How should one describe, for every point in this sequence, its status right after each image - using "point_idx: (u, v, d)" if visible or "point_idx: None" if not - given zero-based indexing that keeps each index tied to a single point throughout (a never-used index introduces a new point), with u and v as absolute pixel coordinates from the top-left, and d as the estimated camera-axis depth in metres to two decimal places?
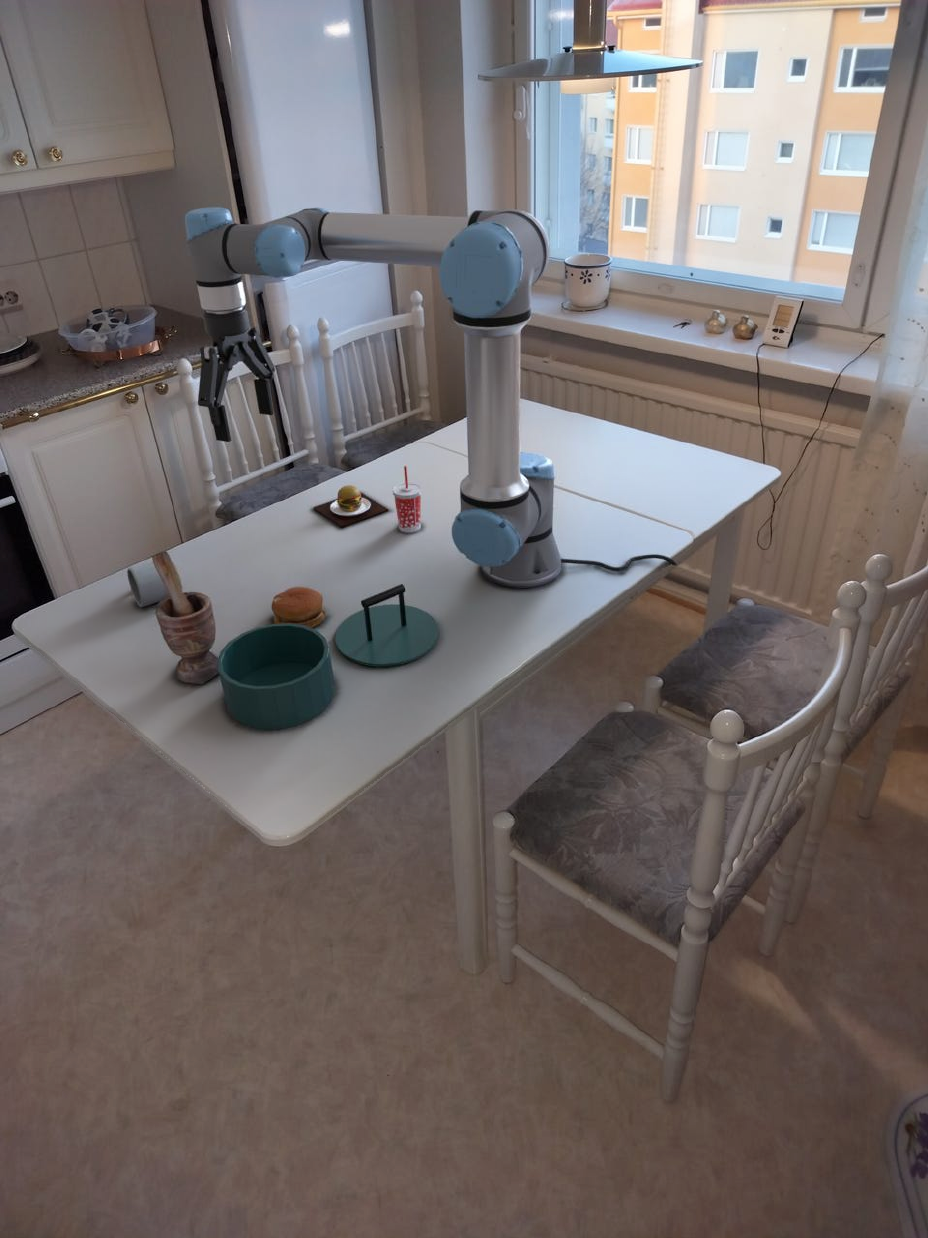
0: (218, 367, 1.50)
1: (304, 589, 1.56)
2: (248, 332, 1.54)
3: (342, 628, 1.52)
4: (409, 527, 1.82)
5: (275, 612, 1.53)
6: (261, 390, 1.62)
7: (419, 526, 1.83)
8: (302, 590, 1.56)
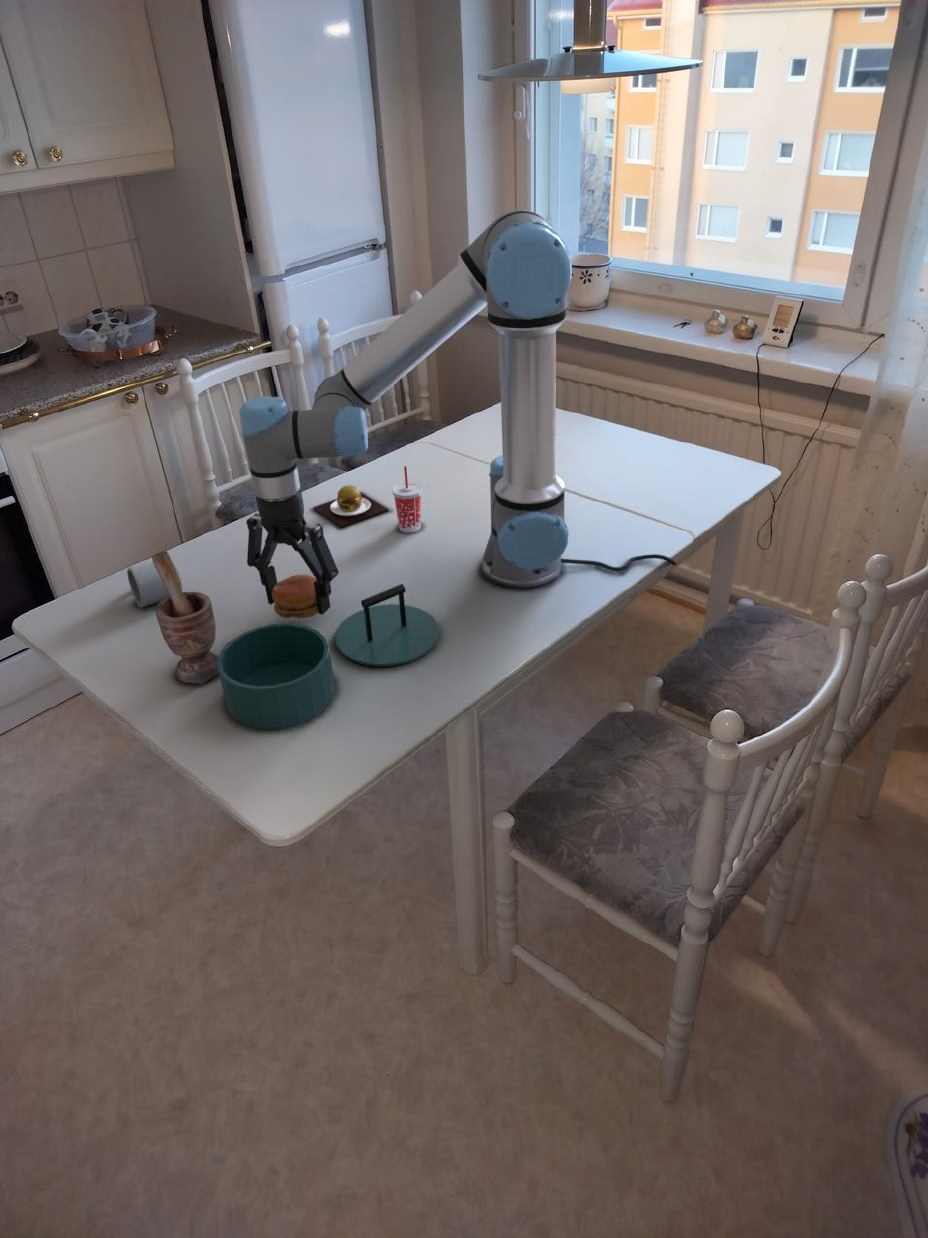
0: None
1: (304, 577, 1.55)
2: (308, 528, 1.44)
3: (342, 628, 1.52)
4: (409, 527, 1.82)
5: (275, 600, 1.52)
6: None
7: (419, 526, 1.83)
8: (303, 578, 1.54)
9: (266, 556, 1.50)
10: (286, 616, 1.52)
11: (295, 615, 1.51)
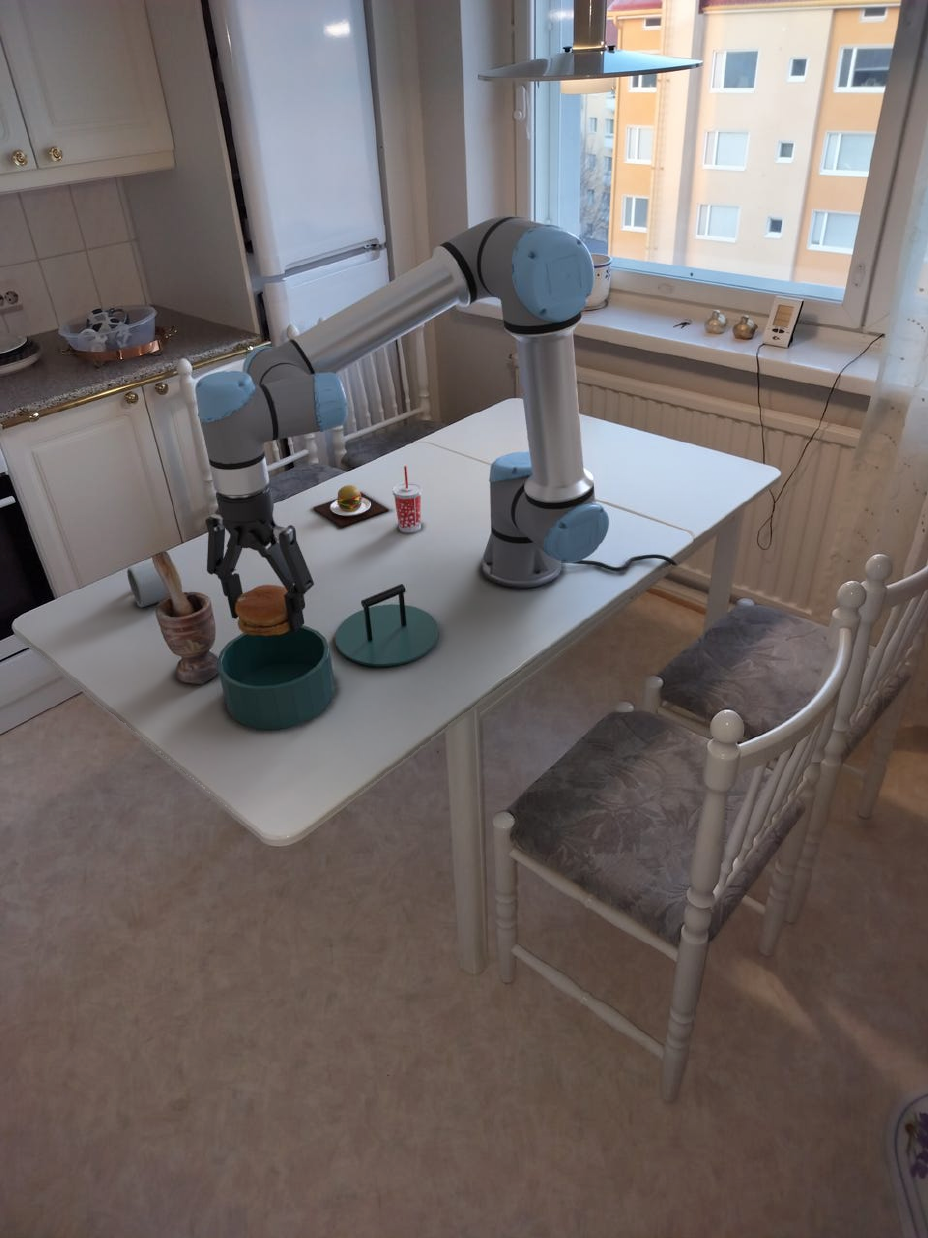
0: None
1: (275, 587, 1.32)
2: (277, 531, 1.21)
3: (342, 628, 1.52)
4: (409, 527, 1.82)
5: (239, 615, 1.28)
6: None
7: (419, 526, 1.83)
8: (272, 589, 1.31)
9: (229, 562, 1.27)
10: (251, 633, 1.29)
11: (262, 633, 1.28)
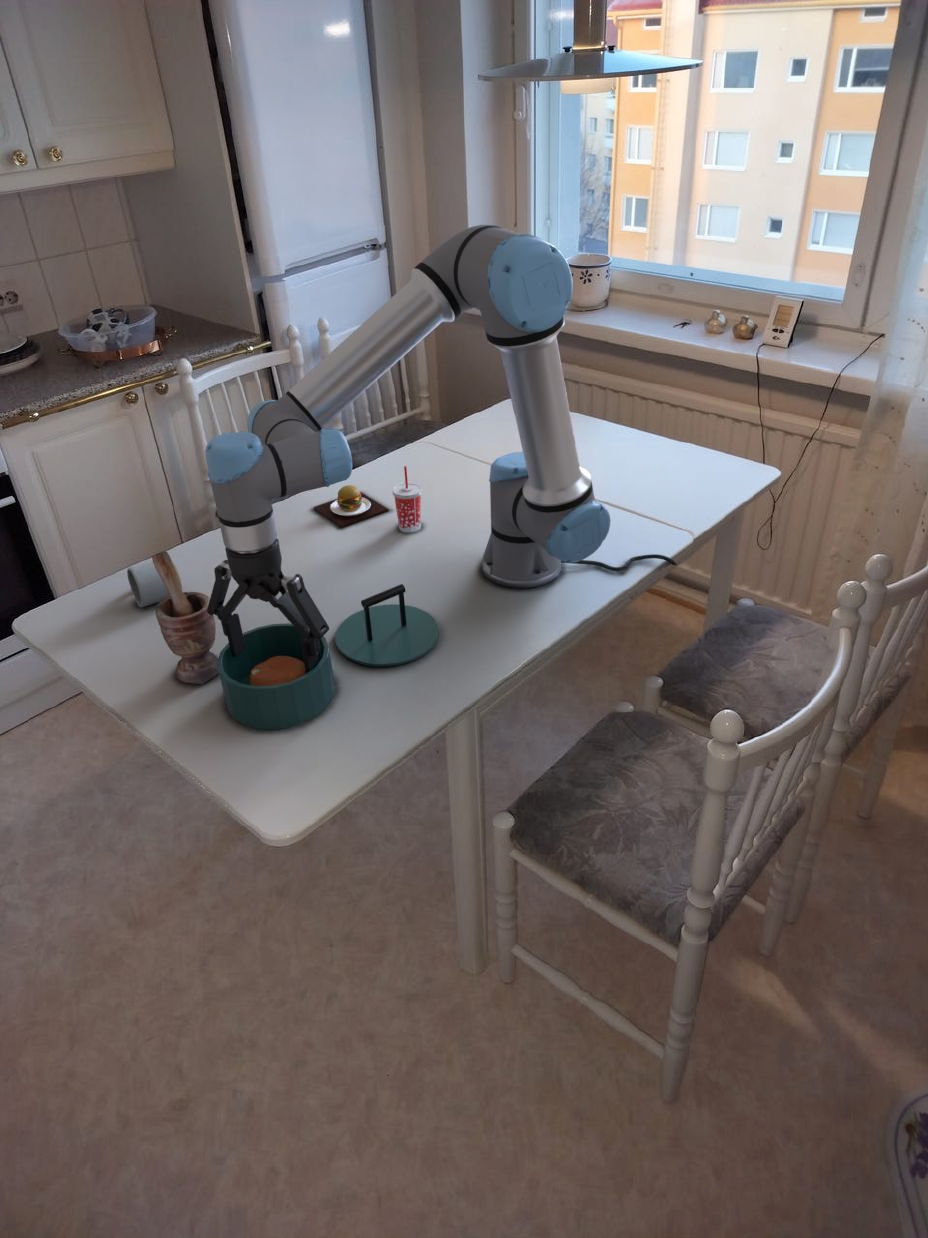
0: None
1: (287, 659, 1.38)
2: (285, 581, 1.24)
3: (342, 628, 1.52)
4: (409, 527, 1.82)
5: None
6: None
7: (419, 526, 1.83)
8: (285, 661, 1.38)
9: (231, 607, 1.31)
10: None
11: None
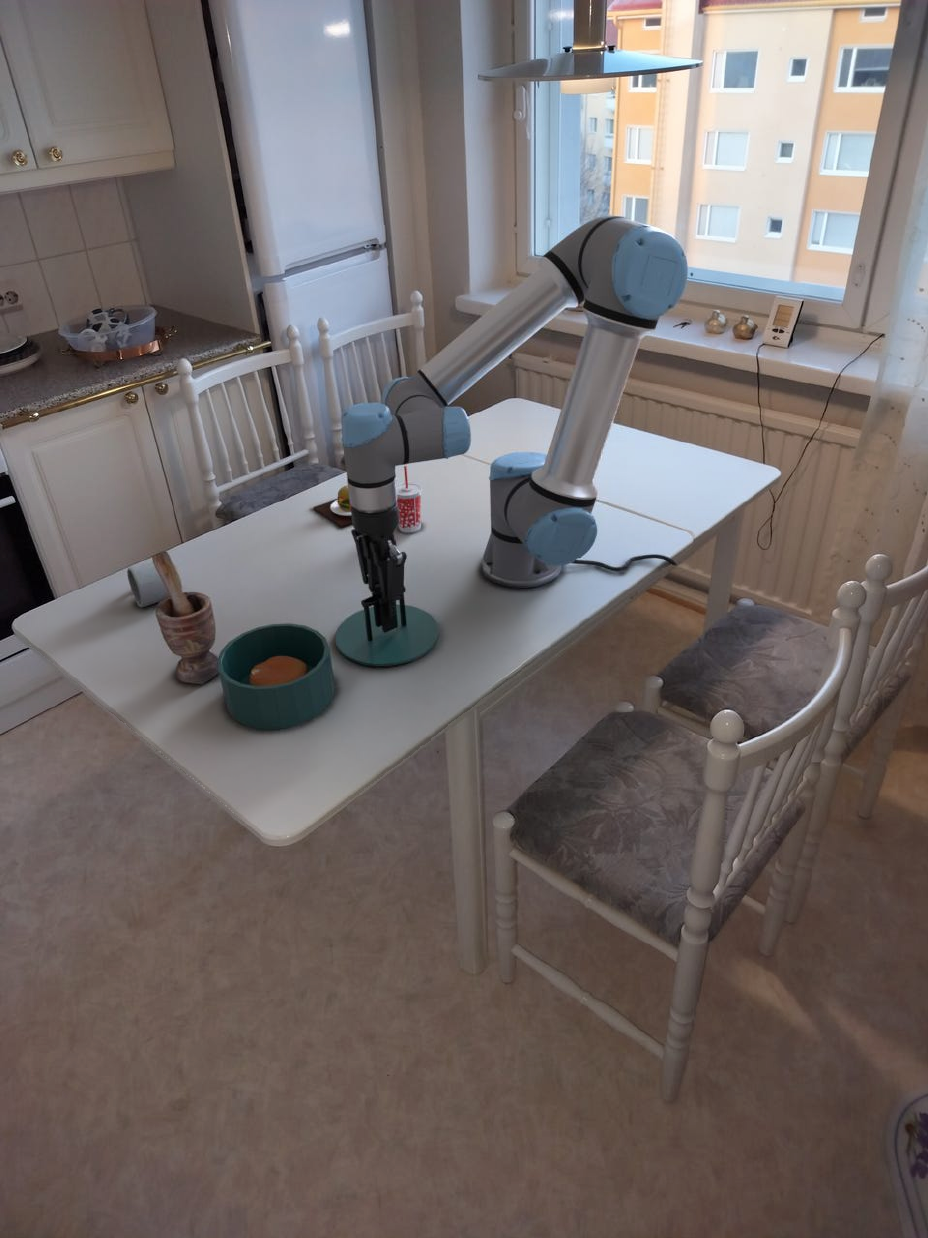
0: None
1: (287, 659, 1.38)
2: (392, 551, 1.37)
3: (342, 628, 1.52)
4: (409, 527, 1.82)
5: None
6: None
7: (419, 526, 1.83)
8: (285, 661, 1.38)
9: (371, 572, 1.44)
10: None
11: None
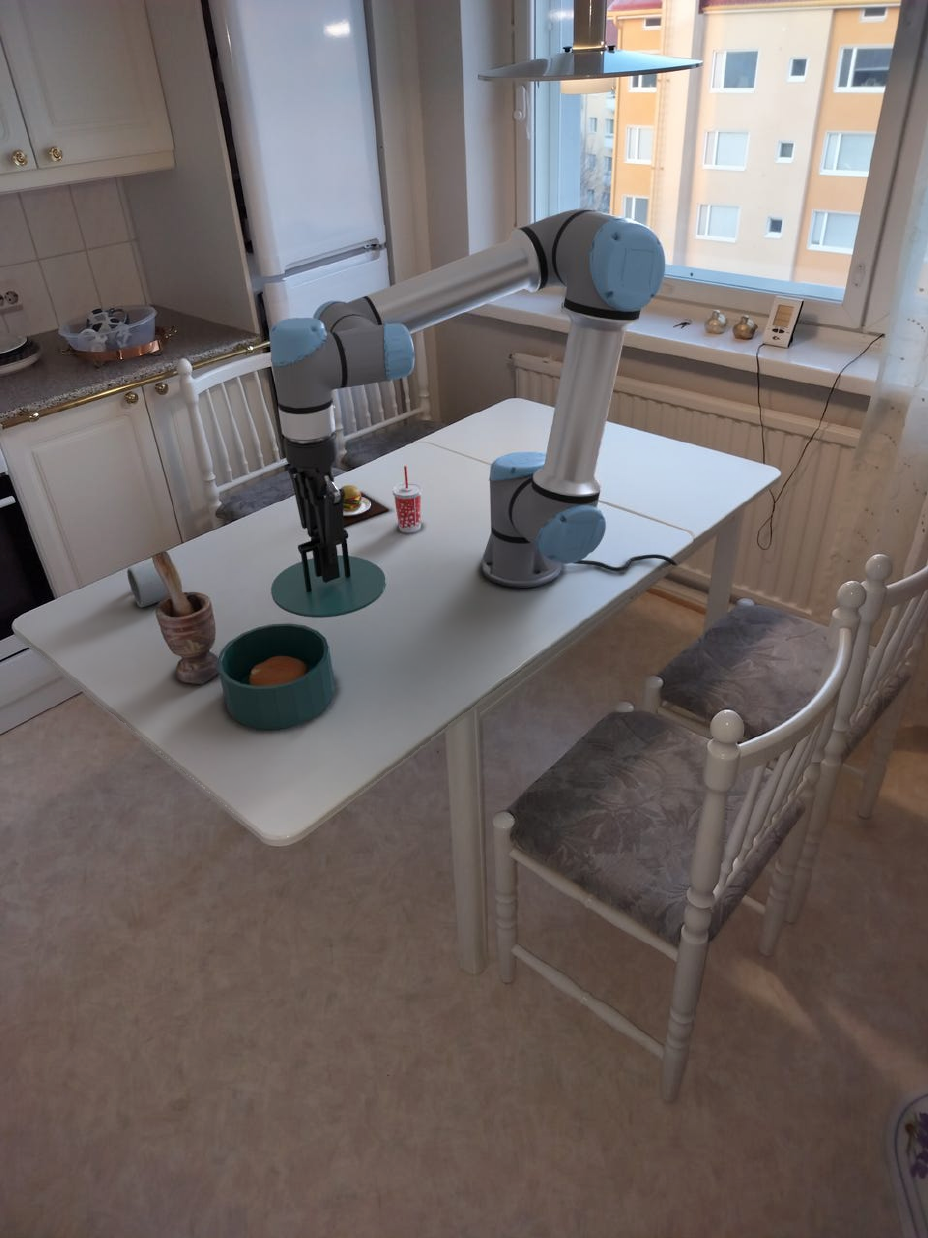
0: None
1: (287, 659, 1.38)
2: (328, 488, 1.23)
3: (280, 578, 1.38)
4: (409, 527, 1.82)
5: None
6: None
7: (419, 526, 1.83)
8: (285, 661, 1.38)
9: (308, 514, 1.30)
10: None
11: None
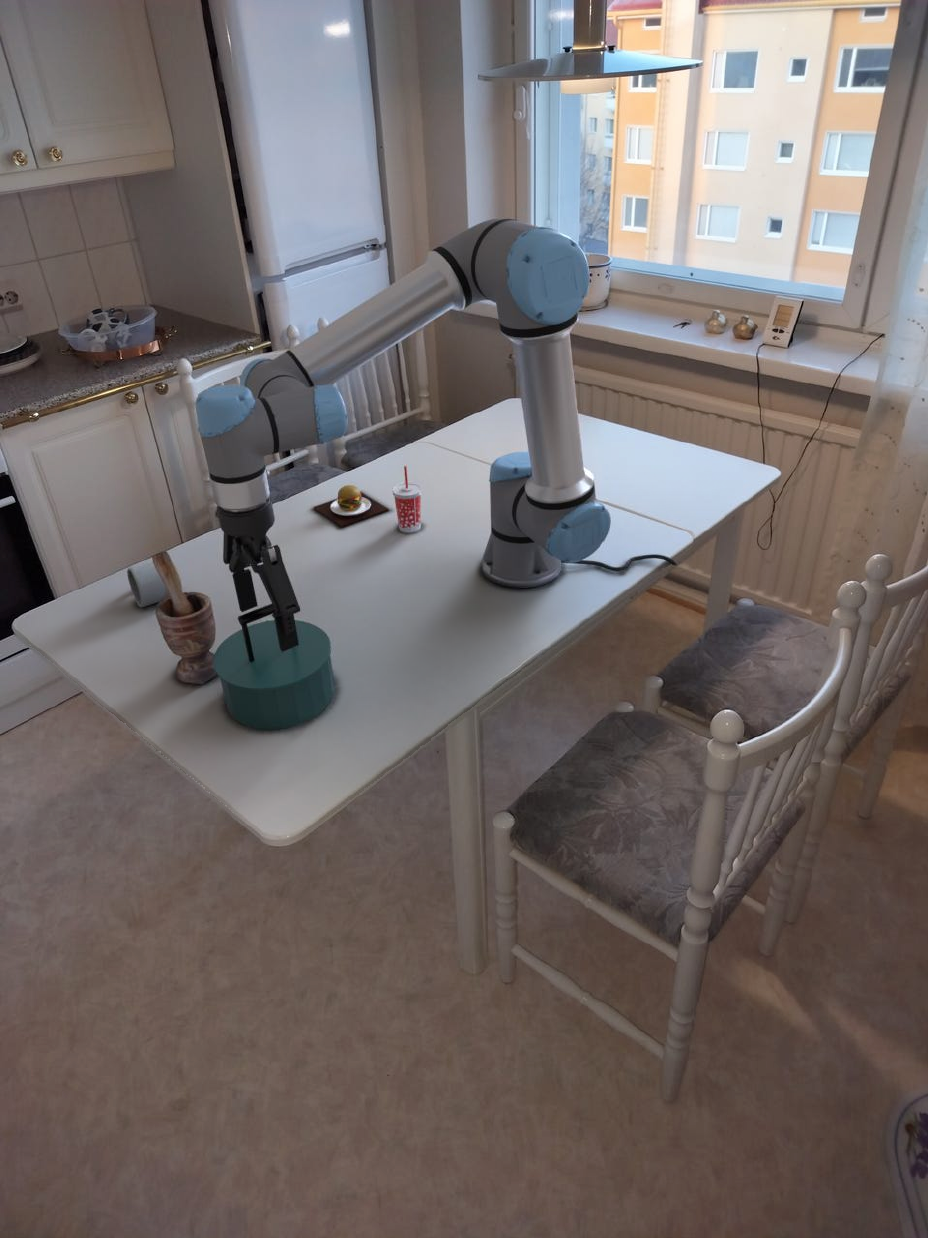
0: None
1: None
2: (263, 549, 1.19)
3: (223, 647, 1.36)
4: (409, 527, 1.82)
5: None
6: None
7: (419, 526, 1.83)
8: None
9: (235, 562, 1.29)
10: None
11: None
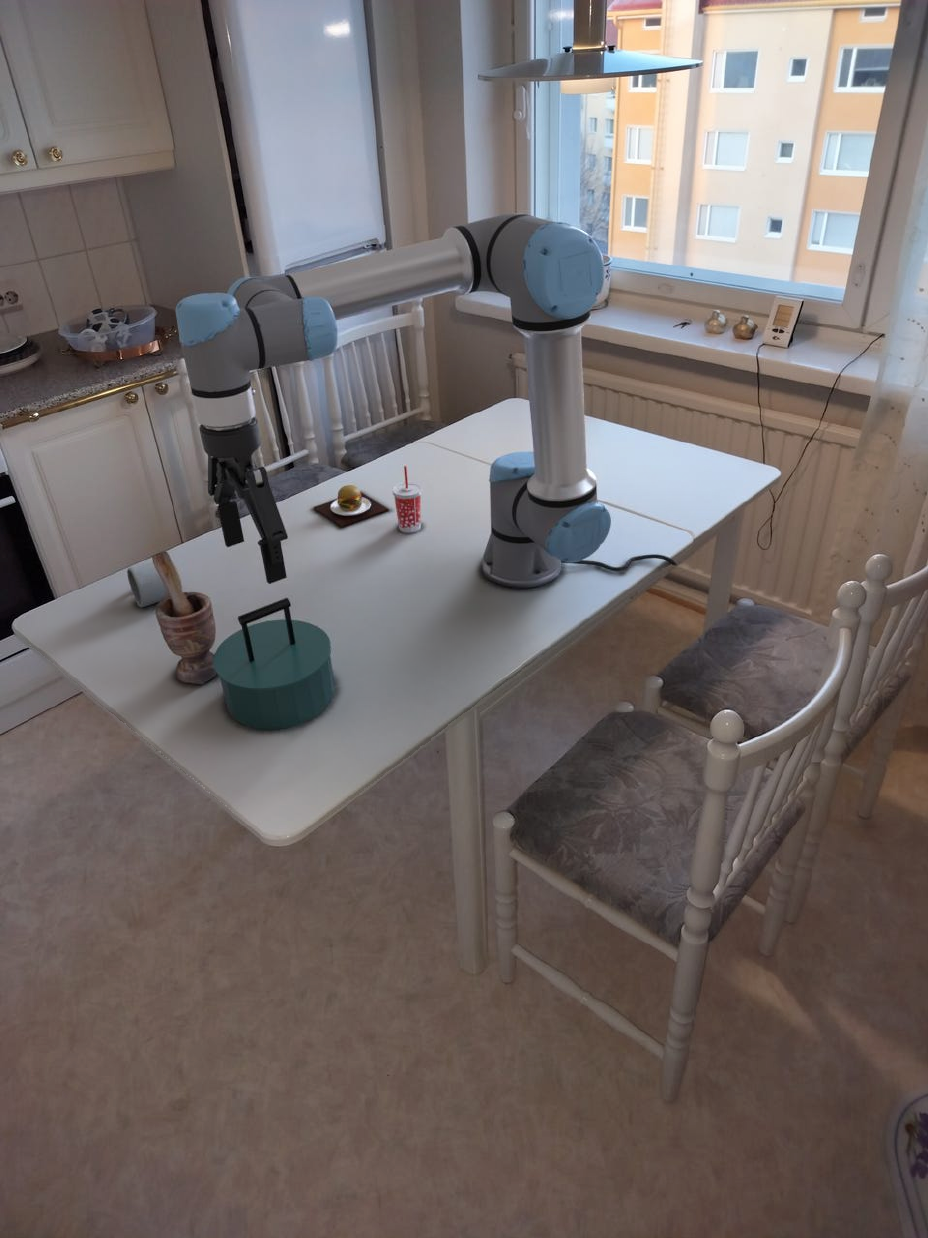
0: None
1: None
2: (248, 471, 1.13)
3: (223, 647, 1.36)
4: (409, 527, 1.82)
5: None
6: None
7: (419, 526, 1.83)
8: None
9: (220, 491, 1.22)
10: None
11: None
